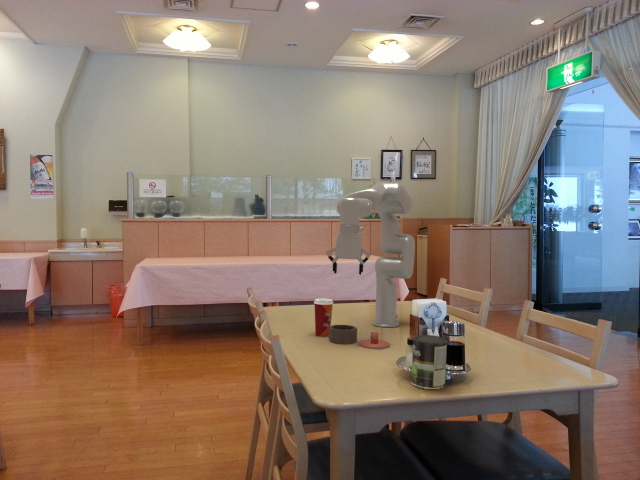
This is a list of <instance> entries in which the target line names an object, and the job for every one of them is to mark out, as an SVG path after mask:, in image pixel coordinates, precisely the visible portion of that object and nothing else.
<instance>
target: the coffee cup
mask: <svg viewBox="0 0 640 480" xmlns="http://www.w3.org/2000/svg"><path fill="white" fill-rule="evenodd" d="M313 304H314V327H315V329H314V330H315V336H316V337H323V338H326V337H329V326H332V315H333V304H334V301H333V299H332V298H327V297H325V298H323V297H322V298H320V297H319V298H314V301H313Z"/></svg>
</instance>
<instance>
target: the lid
mask: <svg viewBox="0 0 640 480" xmlns="http://www.w3.org/2000/svg"><path fill="white" fill-rule="evenodd" d="M379 334H380V333H379V332H377V331H371V332H370V339H362V340H359V341H358V344H359V345H360V346H362V347H361V348H365V349H371V350H377V349H383V350H384V348H385V349H389V348H390V347H391V346H390V344H391V343H390V342H389V341H387V340H382V339H379V337H380V335H379Z"/></svg>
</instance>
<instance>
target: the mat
mask: <svg viewBox="0 0 640 480" xmlns="http://www.w3.org/2000/svg"><path fill="white" fill-rule="evenodd" d="M393 345H394V343H390V347H391V346H393ZM354 346H355V347H361V348H363V347H362V346H360V345H359V343H358V344H355V345H354ZM384 349H386V348H384ZM384 349H376V351H383V350H384Z"/></svg>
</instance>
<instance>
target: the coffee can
mask: <svg viewBox="0 0 640 480" xmlns="http://www.w3.org/2000/svg"><path fill="white" fill-rule="evenodd" d="M447 346H448V339H447V338H445V337H443V336H439V335H431V334H420V335H415V336H413V337H412V361H411V362H412V364H411V366H412V367H411V382H410V383H411V385H412V386H413V385H414V386H413V387H415V386H417V387H416V388H418V387H422V388H438V387H442V386H443V385H444V384H445V385H446V368H447V367H446V366H447Z"/></svg>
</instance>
